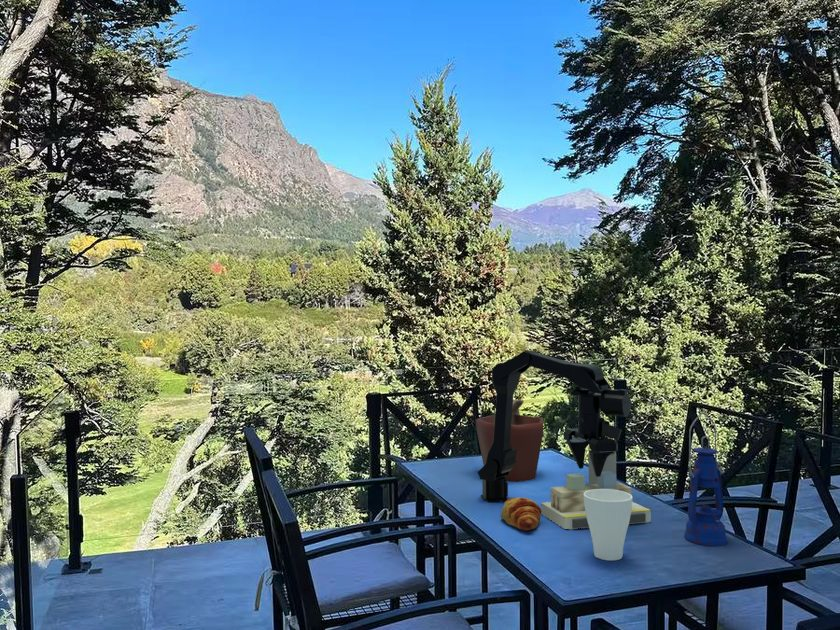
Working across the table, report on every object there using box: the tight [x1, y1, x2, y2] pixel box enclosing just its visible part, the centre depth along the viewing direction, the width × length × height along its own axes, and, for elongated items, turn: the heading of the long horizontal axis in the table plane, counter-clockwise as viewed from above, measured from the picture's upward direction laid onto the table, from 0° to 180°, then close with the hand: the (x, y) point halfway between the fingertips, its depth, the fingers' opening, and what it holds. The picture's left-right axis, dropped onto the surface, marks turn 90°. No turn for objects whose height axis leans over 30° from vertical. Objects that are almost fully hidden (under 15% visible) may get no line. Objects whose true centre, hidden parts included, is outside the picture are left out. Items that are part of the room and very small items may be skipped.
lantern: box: [683, 411, 729, 547], centre depth 160 cm, size 11×9×30 cm
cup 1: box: [588, 452, 617, 485], centre depth 211 cm, size 8×8×10 cm
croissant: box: [500, 497, 542, 531], centre depth 175 cm, size 21×10×8 cm, turn 4°
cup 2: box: [584, 489, 633, 562], centre depth 149 cm, size 10×10×14 cm
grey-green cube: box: [565, 472, 586, 491], centre depth 176 cm, size 4×4×4 cm
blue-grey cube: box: [598, 471, 617, 489], centre depth 178 cm, size 4×4×4 cm
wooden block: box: [550, 481, 632, 513], centre depth 177 cm, size 20×6×5 cm, turn 104°
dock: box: [540, 501, 652, 530], centre depth 177 cm, size 24×15×3 cm, turn 104°
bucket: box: [475, 399, 544, 483], centre depth 224 cm, size 24×22×25 cm
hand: (589, 472), depth 178 cm, fingers open, 9 cm apart
